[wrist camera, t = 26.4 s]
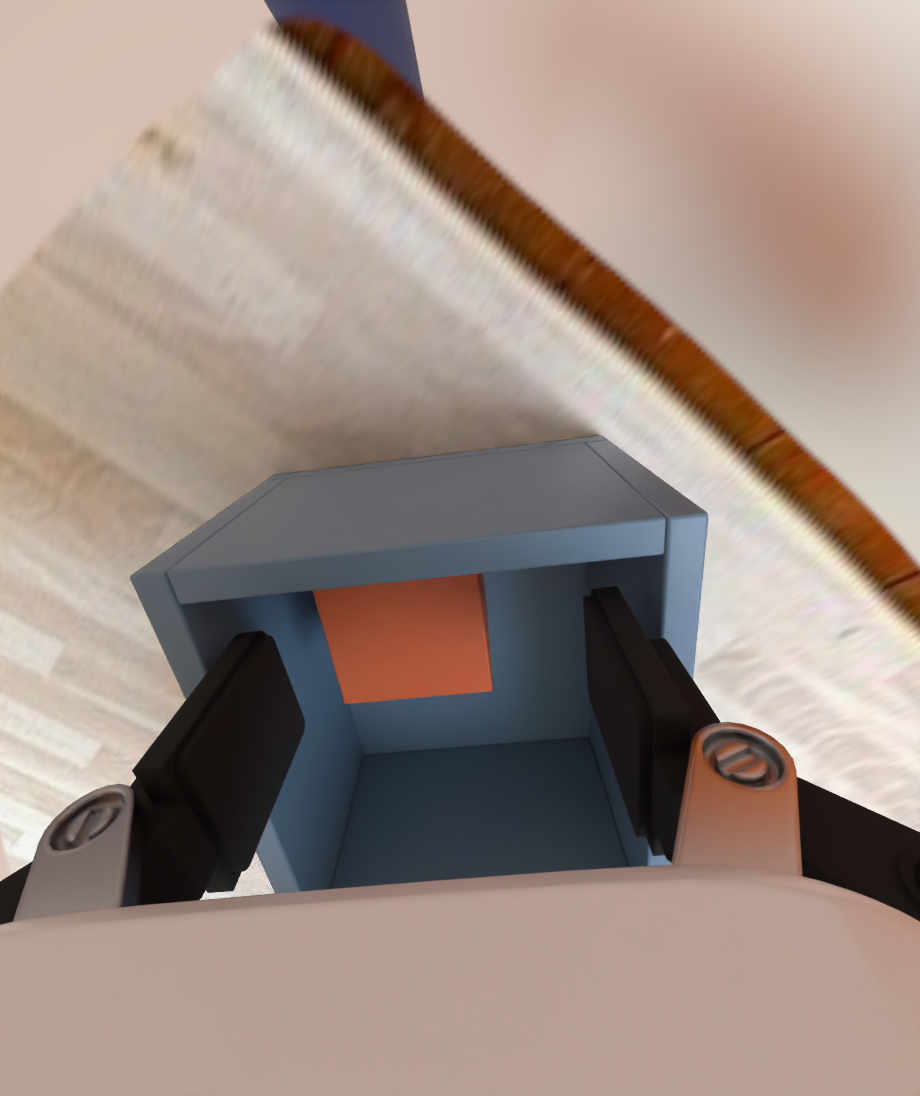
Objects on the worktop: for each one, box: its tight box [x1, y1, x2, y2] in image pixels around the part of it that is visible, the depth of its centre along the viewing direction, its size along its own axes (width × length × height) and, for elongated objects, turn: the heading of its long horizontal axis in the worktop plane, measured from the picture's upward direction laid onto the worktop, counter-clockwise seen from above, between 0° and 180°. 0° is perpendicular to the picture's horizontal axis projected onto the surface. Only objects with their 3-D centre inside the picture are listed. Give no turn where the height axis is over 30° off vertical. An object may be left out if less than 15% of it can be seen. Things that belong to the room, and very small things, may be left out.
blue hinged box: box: [130, 436, 708, 894], centre depth 16 cm, size 14×12×8 cm
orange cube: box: [312, 573, 493, 704], centre depth 15 cm, size 4×4×4 cm
